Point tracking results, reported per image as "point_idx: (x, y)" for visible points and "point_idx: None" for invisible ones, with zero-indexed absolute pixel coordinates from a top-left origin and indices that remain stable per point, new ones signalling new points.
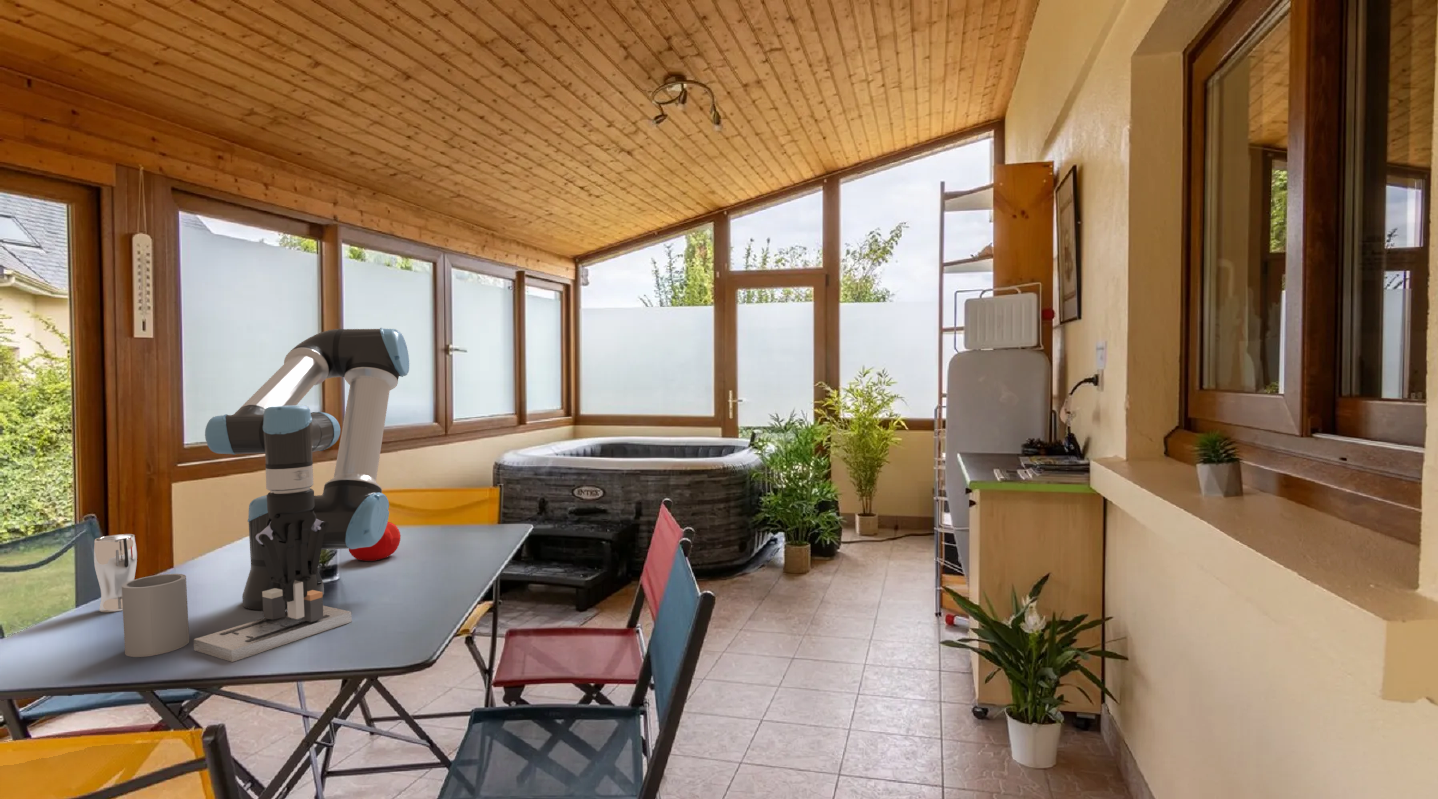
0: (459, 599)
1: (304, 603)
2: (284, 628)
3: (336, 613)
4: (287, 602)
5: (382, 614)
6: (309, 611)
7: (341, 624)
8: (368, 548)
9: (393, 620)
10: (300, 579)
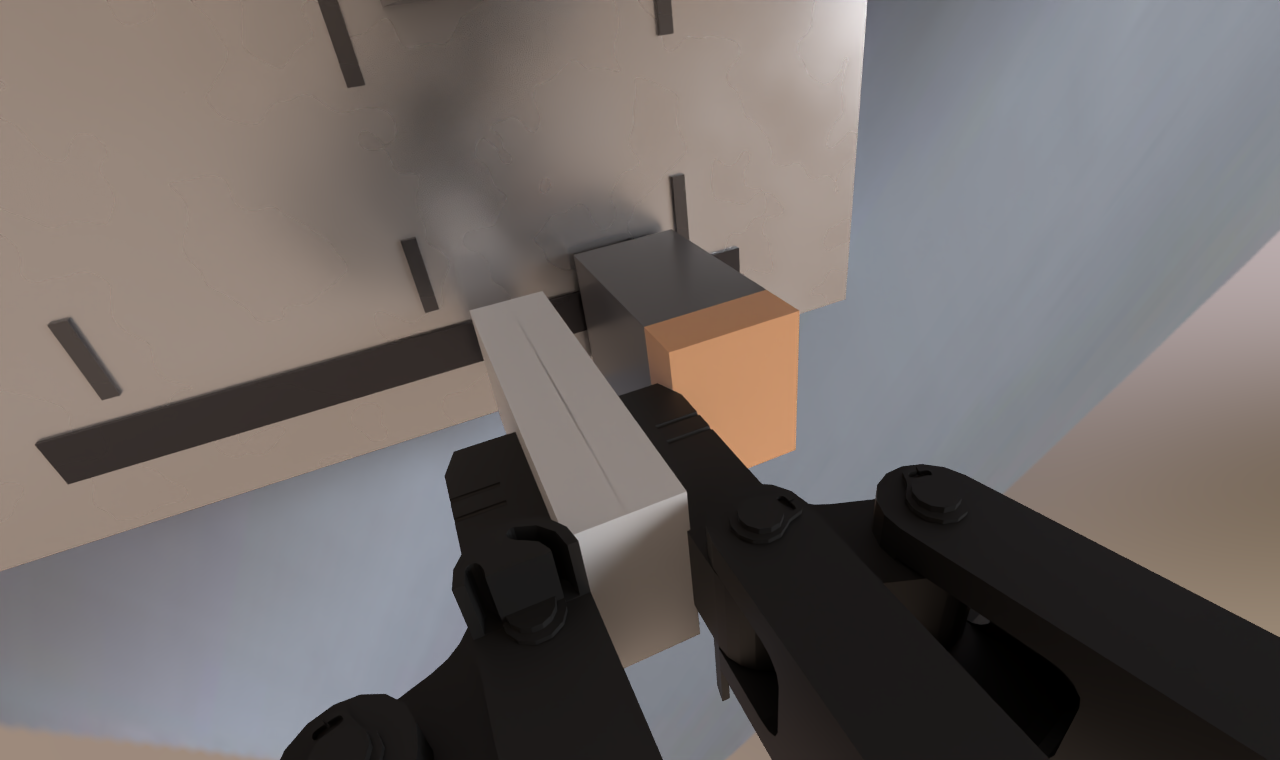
0: (1145, 328)
1: (635, 365)
2: (408, 352)
3: (788, 262)
4: (498, 382)
5: (937, 274)
6: (621, 392)
7: None
8: None
9: (888, 406)
10: (709, 623)
